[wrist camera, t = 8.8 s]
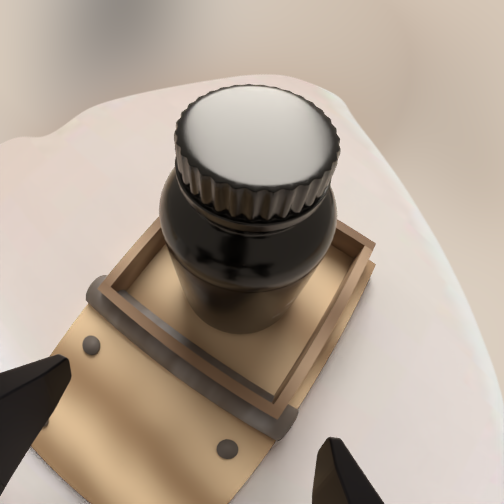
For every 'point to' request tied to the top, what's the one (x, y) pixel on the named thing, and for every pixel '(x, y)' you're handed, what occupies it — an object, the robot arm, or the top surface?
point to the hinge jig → (187, 379)
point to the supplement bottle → (249, 203)
